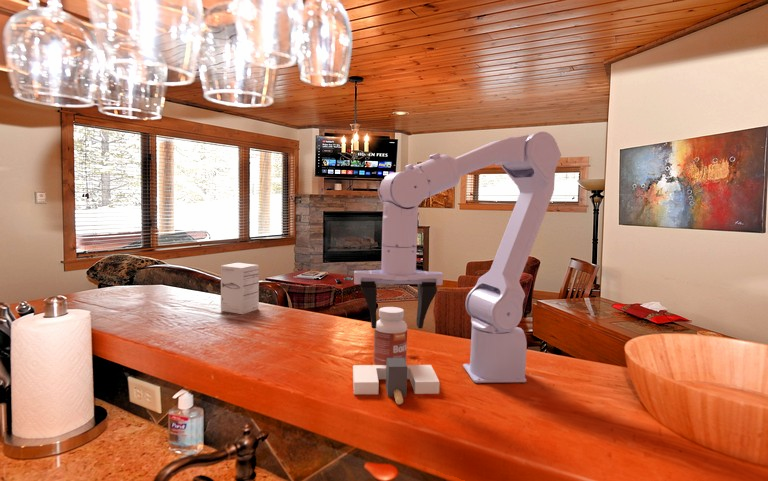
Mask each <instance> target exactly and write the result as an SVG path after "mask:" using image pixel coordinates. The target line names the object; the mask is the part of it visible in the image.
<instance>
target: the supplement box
mask: <svg viewBox="0 0 768 481" xmlns="http://www.w3.org/2000/svg"><path fill="white" fill-rule="evenodd" d="M259 289H260V265H259V264H253V263H243V262H234V263H229V264H221V265H220V312H224V313H225V312H227V313H232V314H238V315H245V314H248V313H251V312H254V311H257V310H259V299H260V298H259V297H260V296H259V295H260V290H259Z"/></svg>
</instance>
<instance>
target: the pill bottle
mask: <svg viewBox="0 0 768 481" xmlns="http://www.w3.org/2000/svg"><path fill="white" fill-rule="evenodd" d="M378 317H379V319H378V320H376V322H377V324H376V328H374V333H373V334H374V336H373V338H374V339H373V365H386V361H387V358H404V359H405V361H406V362H407V352H408V351H407V347H408V345H407V344H408V324H407V323H406V321H404V320H403V319H404V317H405V310H404V309H403V308H402V307H395V306H384V307H380V308H379V309H378Z"/></svg>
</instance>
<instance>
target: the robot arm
mask: <svg viewBox="0 0 768 481" xmlns="http://www.w3.org/2000/svg"><path fill="white" fill-rule="evenodd" d="M440 154H441V153H439V152H436V153H433V154H430V155H429V159H428V160H426V161H423V162H420V163H418V164H416V165H414V164H413V163H409V164H406V165H405V166H404V169H405V170H403V171H398V172H390V173H388V174H386V175H385V176H384V179H382V180H381V182H380V185H379V188H378V189H377V195H378V198H379V200H380V201H381V203H382V204H383V205H382V207H383V208H382V209H383V210H382V225H381V226H382V227H381V228H382V229H381V230H382V231H381V269H373V270H372V269H371V270H370V269H369V270H353V284H354V285H360V289H361V292H362V294H363V296H364V298H365V301H366V304H367V308H368V310H369V315H370V322H371V323H370V324H371V328H372V329H375V328H376V324H377V294H378V291H377V285H376V284H378V285H379V284H381V285H383V284H384V285H386V284H387V285H417V311H416V326H417V328H418V329H424V328H423V327H424V323H425V319H426V315H427V312H428V309H429V308H430V305H431V304H432V301H433V299H434V297H435V296H436V294H437V292H438V287H437V286H443V282H444V273H443V272H441V271H428V270H427V271H426V270H417V252H418V251H417V247H418V245H417V244H418V224H419V223H418V216H419V215H418V214H419V213H418V211H419V205H421V204H422V202H423V201H424V200H426V199H428V198H431V197H434V196H435V195H438V194H440V193H442V192H445V191H448V190H450V189H452V188H454V187H457V185H458V184H459V182H460V179H461V177H462V176H465V175H467V174H470V173H473V172H475V171H478V170H481V169H485V168H487V167H490V166H492V165H494V166H501V169H503V170H504V172H505V173H506V174H507V175H508V177H509V178H510V179H511V180H512V182H513V183H514V184H515V185H516V186H517V188H518V190H519V194H518V196H517V200H516V202H515V204H514V207H513V209H512V212H511V214H510V218H509V221H508V223H507V225H506V228H505V230H504V234H503V235H502V238H501V240H500V244H499V245H498V249H497V251H496V254H495V257H494V258H493V261H492V264H491V267H490V269H489V270H488V271H487V272H486V273H484V274H483V275H481V276H479V277H478V279H477V281H476V284H475V286H474V287H473V288H472V289H471V290H470V291H469V292H468V294H467V295H466V298H465V304H464V306H465V310H466V312H467V314H468V315H469V316H470V322H471V333H470V334H471V336H470V337H471V338H470V356H469V357H470V358H469V363H463V364H462V367H463V369H465V371H466V372H467V374H468V375H469V377H470V378H471V380H472V381H473V382H474V383H475V384H476V383H477V384H478V383H479V384H480V383H485V384H486V383H526V382H527V378H526V366H527V365H526V364H527V349H528V348H527V346H528V345H527V336H526V334H525V331H524V329H522V328H521V327H518V325H519V324H520V322H521V320H522V319H523V318H522V317H523V306H524V305H523V304H524V300H525V298H526V293H525V290H524V289H523V287H522V285H521V283H520V280H521V278H522V274H523V272H524V269H525V267H526V265H527V262H528V260H529V257H530V254H531V252H532V248H533V247H534V244H535V242H536V238H537V236H538V234H539V232H540V231H539V230H541V229H540V228H541V225H542V223H543V220H544V218H545V215H546V213H547V210H548V208H549V204H550V203H551V201H552V200H551V199H552V197H553V195H554V191H555V178H556V177H555V176H556V169H557V166H558V164H559V162H560V159H561V156H562V153H561V150H560V149H559V146H558V143H557V141H556V139H555V137H554V136H553V135H552V134H551V133H549V132H547V131H538V132H535V133H533V134H526V135H521V136H520V135H519V136H516V137H515V136H511V137H506V138H504V139H498V140H494V141H490V142H488V143H486V144H484V145H480V146H479V147H476V148H475V149H472V150H470V151H468V152H465V153H463V154H461V155H459V156H456V157H452V156H451V155H448V154H441V155H440Z"/></svg>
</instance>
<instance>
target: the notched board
mask: <svg viewBox="0 0 768 481" xmlns="http://www.w3.org/2000/svg"><path fill="white" fill-rule="evenodd" d="M379 380H386V365H374V364H372V365H371V364H363V365H361V364H359V365H358V364H356V365H355V364H354V365H352V383H353V385H352V386H353V387H352V388H353V390H354V391H353V395H379V387H380V386H379ZM407 380H409V381H410V384H411V386H412V389H413V393H414V395H415V394H416V395H425V394H427V395H428V394H429V395H431V394H432V395H433V394H434V395H435V394H437V395H439V394H440V385H441V384H440V380H439V377H438V376H437V374H436V372H435V369H434V368H433V366H432V364H407Z"/></svg>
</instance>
